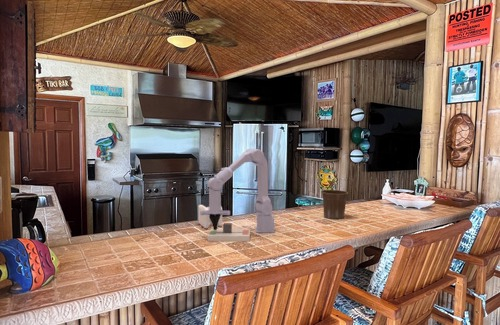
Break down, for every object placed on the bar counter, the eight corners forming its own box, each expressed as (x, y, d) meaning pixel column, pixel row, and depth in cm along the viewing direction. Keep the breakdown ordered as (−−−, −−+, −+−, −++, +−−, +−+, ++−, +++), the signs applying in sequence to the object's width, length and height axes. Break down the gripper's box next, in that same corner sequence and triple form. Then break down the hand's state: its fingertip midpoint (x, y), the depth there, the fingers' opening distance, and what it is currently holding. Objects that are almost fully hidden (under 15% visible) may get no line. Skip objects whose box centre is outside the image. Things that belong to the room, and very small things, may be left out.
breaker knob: (231, 230, 157) (231, 223, 157) (231, 232, 154) (231, 224, 154) (223, 230, 157) (223, 223, 157) (223, 232, 154) (223, 224, 154)
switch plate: (250, 233, 162) (250, 229, 162) (249, 241, 150) (249, 236, 150) (211, 233, 162) (211, 229, 162) (207, 241, 150) (207, 235, 150)
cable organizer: (223, 228, 174) (223, 207, 173) (204, 230, 169) (204, 208, 168) (214, 221, 187) (214, 202, 186) (197, 223, 183) (197, 204, 182)
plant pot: (350, 216, 200) (351, 191, 199) (343, 221, 186) (344, 194, 185) (325, 213, 209) (326, 189, 208) (317, 218, 195) (317, 192, 194)
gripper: (198, 203, 151) (199, 231, 152) (229, 203, 151) (229, 231, 152) (201, 201, 158) (201, 227, 159) (230, 201, 158) (230, 227, 159)
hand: (215, 229), depth 156 cm, fingers closed
